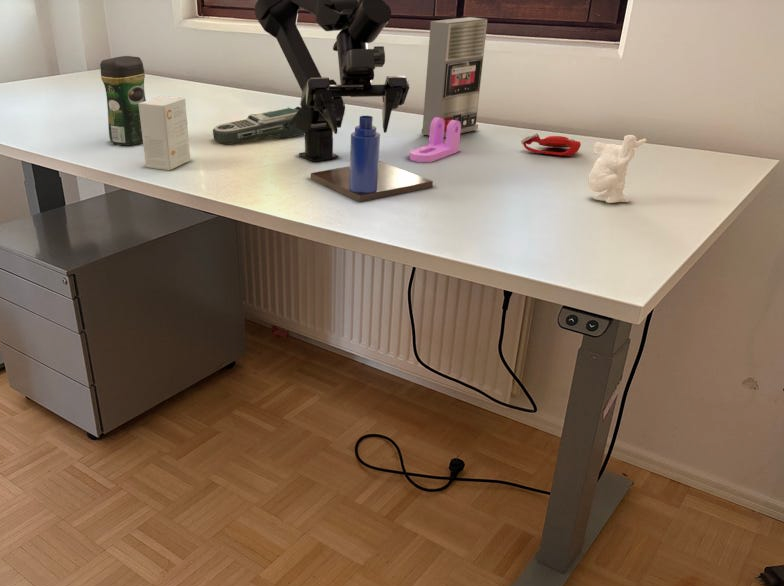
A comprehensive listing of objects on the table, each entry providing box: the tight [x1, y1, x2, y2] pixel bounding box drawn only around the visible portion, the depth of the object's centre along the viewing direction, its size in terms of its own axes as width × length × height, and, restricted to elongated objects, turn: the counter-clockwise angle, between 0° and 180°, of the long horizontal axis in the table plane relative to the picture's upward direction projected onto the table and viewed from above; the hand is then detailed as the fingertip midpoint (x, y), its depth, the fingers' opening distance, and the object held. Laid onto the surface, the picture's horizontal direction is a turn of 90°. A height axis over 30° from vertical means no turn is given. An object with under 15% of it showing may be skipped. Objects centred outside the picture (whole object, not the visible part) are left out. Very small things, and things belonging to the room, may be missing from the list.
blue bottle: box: [349, 115, 381, 193], centre depth 134 cm, size 5×5×13 cm
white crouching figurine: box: [588, 134, 647, 204], centre depth 132 cm, size 8×7×12 cm
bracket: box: [409, 117, 462, 163], centre depth 161 cm, size 13×6×7 cm, turn 139°
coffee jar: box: [99, 55, 147, 146], centre depth 169 cm, size 10×8×19 cm
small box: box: [138, 95, 191, 171], centre depth 154 cm, size 8×6×13 cm
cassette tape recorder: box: [420, 16, 489, 138], centre depth 174 cm, size 14×6×25 cm, turn 129°
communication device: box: [212, 106, 305, 145], centre depth 176 cm, size 12×24×9 cm, turn 117°
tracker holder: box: [520, 133, 582, 157], centre depth 163 cm, size 12×4×10 cm
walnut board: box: [310, 160, 434, 203], centre depth 145 cm, size 17×17×1 cm
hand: (360, 132), depth 136 cm, fingers open, 9 cm apart
